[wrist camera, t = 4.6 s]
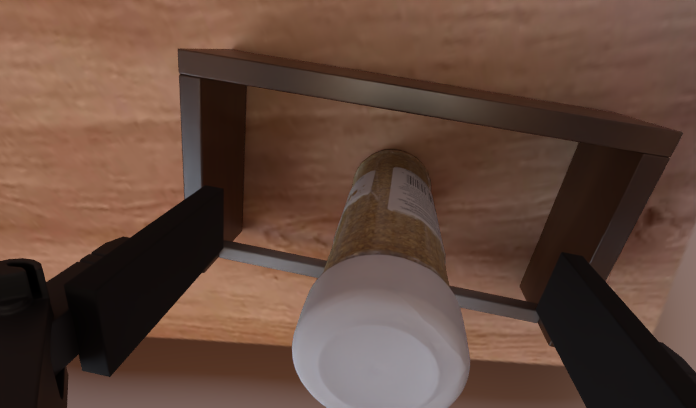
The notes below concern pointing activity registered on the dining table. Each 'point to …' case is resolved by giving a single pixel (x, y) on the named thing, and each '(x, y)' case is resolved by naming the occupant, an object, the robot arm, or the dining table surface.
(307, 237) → the dining table surface
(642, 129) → the spice rack
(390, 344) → the spice jar
